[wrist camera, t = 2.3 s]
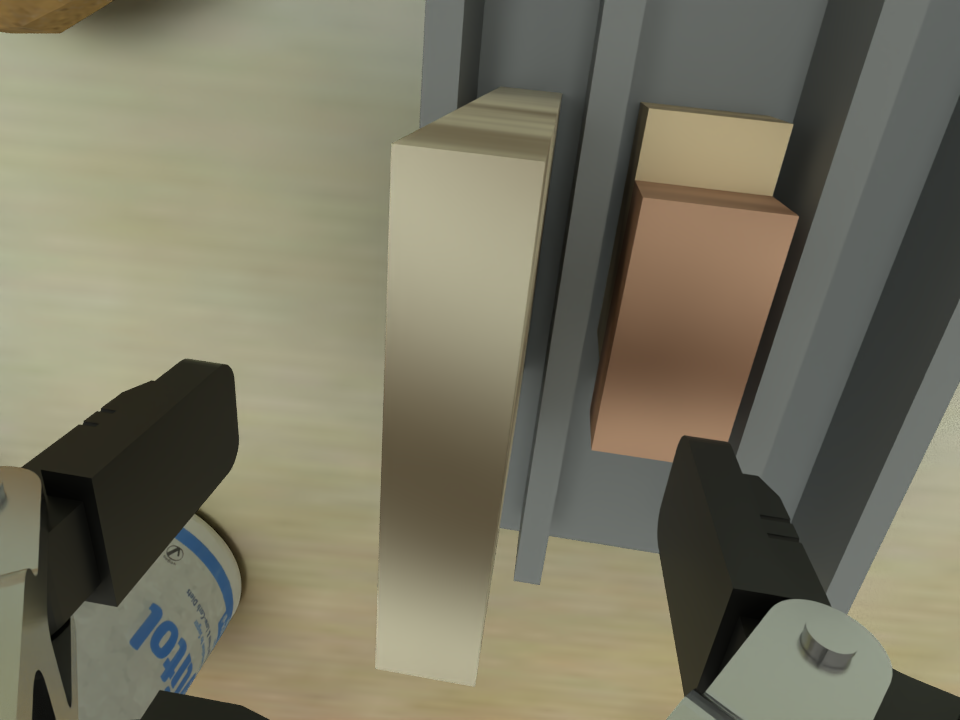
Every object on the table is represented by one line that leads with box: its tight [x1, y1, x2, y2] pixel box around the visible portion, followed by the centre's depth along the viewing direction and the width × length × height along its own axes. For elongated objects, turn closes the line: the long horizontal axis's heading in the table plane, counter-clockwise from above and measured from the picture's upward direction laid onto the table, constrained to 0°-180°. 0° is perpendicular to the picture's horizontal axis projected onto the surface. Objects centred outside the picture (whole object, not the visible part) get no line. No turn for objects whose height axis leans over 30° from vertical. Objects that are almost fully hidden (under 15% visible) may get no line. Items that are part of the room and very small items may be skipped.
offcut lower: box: [597, 102, 794, 360], centre depth 21 cm, size 8×4×2 cm, turn 174°
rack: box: [420, 0, 960, 615], centre depth 21 cm, size 26×16×6 cm, turn 174°
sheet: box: [375, 87, 562, 687], centre depth 17 cm, size 10×2×14 cm, turn 174°
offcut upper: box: [590, 180, 799, 462], centre depth 20 cm, size 8×4×2 cm, turn 174°
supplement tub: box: [73, 514, 241, 720], centre depth 28 cm, size 10×10×15 cm
